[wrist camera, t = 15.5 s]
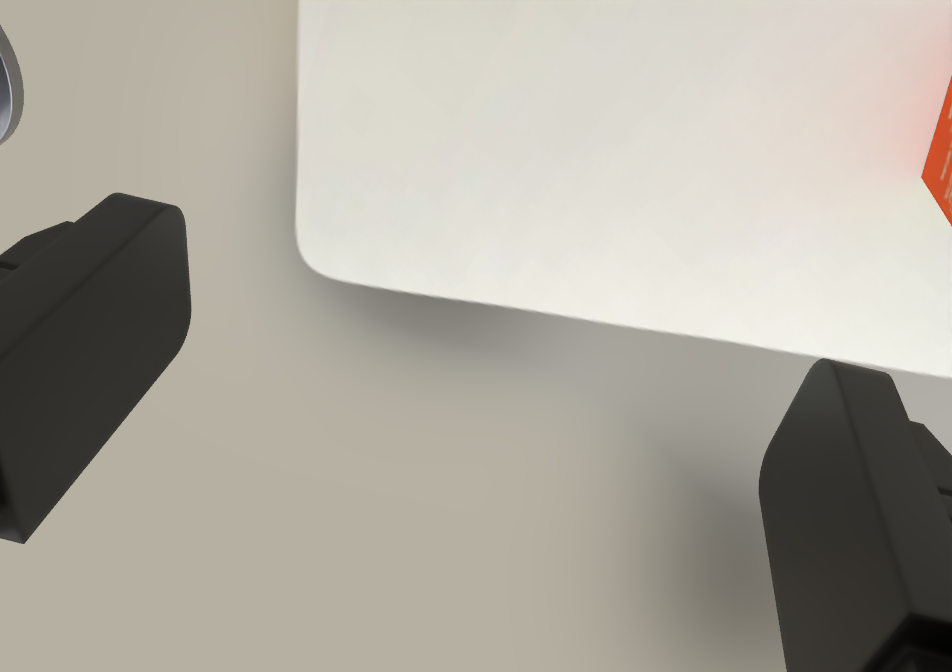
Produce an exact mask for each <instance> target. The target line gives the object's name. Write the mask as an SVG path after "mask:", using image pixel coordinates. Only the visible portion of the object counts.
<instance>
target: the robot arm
mask: <svg viewBox="0 0 952 672" xmlns="http://www.w3.org/2000/svg"><path fill="white" fill-rule="evenodd" d="M187 253H188V252H187V238H186V225H185V219H184V216H183V214H182V211H181V210H180V209H179V208H178V207H177V206H174V205H170V204H166V203H162V202H157V201H153V200H149V199H144V198H140V197H135V196H131V195H127V194H123V193H114V194H111V195H109V196H108V197H107V198H105V199H104V200H103V201H102V202H100V203H99V204H98V205H96V206H95V207H94V208H93V209H91V210H90V211H89V212H88V213H86V214H85V215H84V216H82V217H81V218H80V219H79V220H77V221H76V222H75V223H73V222H69V221H66V222H63V223H60V224H58V225H55V226H53V227H50V228H47V229H45V230H42V231H39V232H37V233H34V234H31V235H29V236H26V237H24V238H23V239H21V240H20V241H19V242H17V243H16V244H15V245H13V246H12V247H11V248H9V249H8V250H7V251H5V252H4V253H3V254H1V255H0V538H2V539H6V540H10V541H14V542H17V543H21V544H24V543H25V542H26V541H27V540H28V539H29V537H30V536H31V535H32V534H33V532H34V531H35V530H36V529H37V527H38V526H39V525H40V524H41V522H42V521H43V520H44V518H45V517H46V516H47V515H48V514H49V513H50V511H51V510H52V509H53V508H54V506H55V505H56V504H57V503H58V501H59V500H60V499H61V498H62V496H63V495H64V494H65V493H66V491H67V490H68V489H69V488H70V486H71V485H72V484H73V483H74V482H75V480H76V479H77V478H78V477H79V475H80V474H81V473H82V471H83V470H84V469H85V468H86V467H87V465H88V464H89V463H90V461H91V460H92V459H93V458H94V457H95V455H96V454H97V453H98V452H99V451H100V449H101V448H102V447H103V445H104V444H105V443H106V442H107V441H108V439H109V438H110V437H111V435H112V434H113V433H114V432H115V431H116V429H117V428H118V427H119V426H120V424H121V423H122V422H123V421H124V420H125V418H126V417H127V416H128V415H129V413H130V412H131V411H132V410H133V408H134V407H135V406H136V405H137V403H138V402H139V401H140V400H141V398H142V397H143V396H144V395H145V393H146V392H147V391H148V390H149V389H150V387H151V386H152V385H153V384H154V382H155V381H156V380H157V379H158V377H159V376H160V375H161V373H162V372H163V371H164V370H165V369H166V367H167V366H168V365H169V364H170V362H171V361H172V360H173V359H174V358H175V356H176V355H177V354H178V352H179V351H180V349H181V347H182V345H183V343H184V341H185V338H186V336H187V332H188V329H189V325H190V319H191V295H190V281H189V267H188V254H187ZM759 498H760V505H761V512H762V518H763V524H764V530H765V537H766V543H767V549H768V556H769V562H770V568H771V574H772V581H773V587H774V594H775V600H776V606H777V613H778V619H779V625H780V631H781V638H782V644H783V650H784V657H785V663H786V669H787V672H952V455H951V454H950V453H949V452H948V451H947V450H946V449H945V448H944V446H942V444H941V443H940V442H939V441H938V440H937V439H936V438H935V437H934V435H933V434H932V433H931V432H930V431H929V430H928V429H927V428H926V427H925V425H924V424H921V423H917V422H913V421H910V420H909V418H908V416H907V413H906V411H905V408H904V406H903V403H902V401H901V398H900V396H899V394H898V391H897V389H896V386H895V384H894V382H893V380H892V378H891V376H890V375H889V374H887V373H885V372H881V371H877V370H873V369H869V368H864V367H860V366H856V365H851V364H847V363H843V362H838V361H834V360H830V359H825V358H823V359H820V360H819V361H817V362H816V363H815V364H814V365H813V366H812V368H811V369H810V370H809V372H808V374H807V375H806V377H805V379H804V381H803V383H802V385H801V386H800V388H799V390H798V392H797V394H796V396H795V398H794V400H793V401H792V403H791V405H790V407H789V409H788V411H787V412H786V414H785V416H784V418H783V420H782V422H781V424H780V426H779V427H778V429H777V431H776V433H775V435H774V437H773V438H772V440H771V442H770V444H769V446H768V448H767V450H766V453H765V456H764V459H763V462H762V467H761V471H760V478H759Z"/></svg>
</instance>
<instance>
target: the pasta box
mask: <svg viewBox="0 0 952 672" xmlns="http://www.w3.org/2000/svg"><path fill="white" fill-rule="evenodd" d="M921 178H922V179H923V181H924V182H925V184H926V186H927V187H928V189H929V190H930V192H931V194H932V195H933V197H934V198H935V200H936V202H937V203H938V205H939V206H940V208H941V210H942V211H943V213H944V214H945V216H946V218H947V219H948V221H949V222H950V224H951V226H952V77H951V80H950V84H949V87H948V90H947V94H946V97H945V100H944V104H943V107H942V110H941V113H940V117H939V120H938V123H937V127H936V130H935V133H934V137H933V140H932V143H931V147H930V150H929V153H928V157H927V160H926V163H925V166H924V170H923V173H922V176H921Z"/></svg>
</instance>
